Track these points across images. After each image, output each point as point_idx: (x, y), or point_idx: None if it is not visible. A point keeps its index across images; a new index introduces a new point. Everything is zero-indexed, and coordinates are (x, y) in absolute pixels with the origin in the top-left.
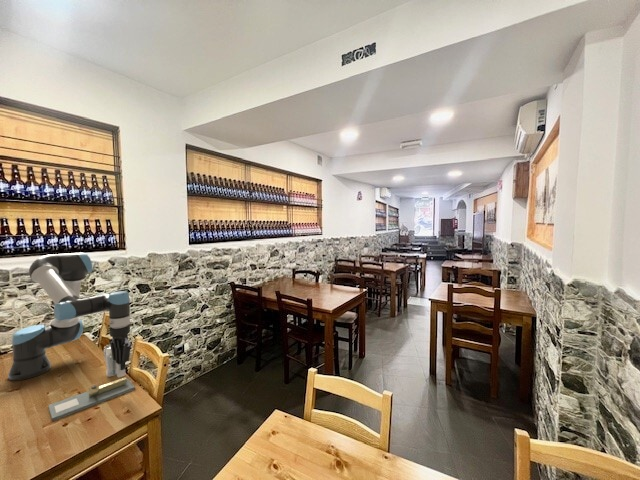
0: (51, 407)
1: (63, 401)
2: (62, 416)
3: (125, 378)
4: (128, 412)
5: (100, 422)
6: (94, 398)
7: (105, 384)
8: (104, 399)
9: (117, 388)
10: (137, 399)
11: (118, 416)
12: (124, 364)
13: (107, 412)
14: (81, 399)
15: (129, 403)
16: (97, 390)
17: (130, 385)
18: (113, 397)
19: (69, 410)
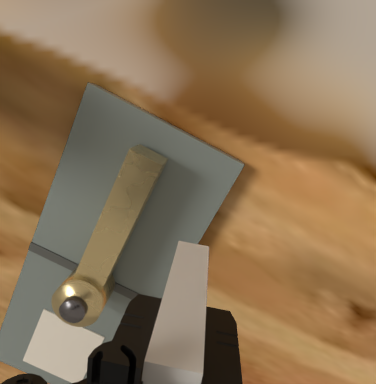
0: (21, 365)
1: (16, 332)
2: None
3: (147, 162)
4: (369, 319)
5: (294, 379)
6: (125, 296)
7: (90, 251)
8: None
9: (152, 203)
10: (337, 235)
11: (342, 345)
12: (237, 378)
13: (267, 333)
14: None
15: (319, 269)
16: (105, 297)
17: (201, 158)
18: None
19: None
